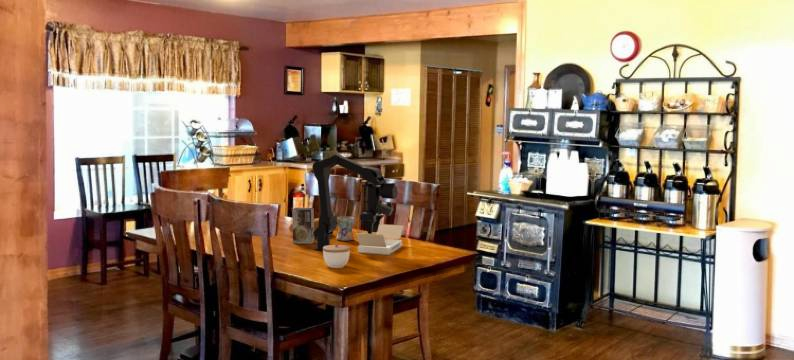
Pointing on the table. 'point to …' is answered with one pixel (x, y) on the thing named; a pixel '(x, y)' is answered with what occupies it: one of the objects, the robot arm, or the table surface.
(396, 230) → the far flap
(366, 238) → the near flap
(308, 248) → the table surface
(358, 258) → the table surface
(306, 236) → the coffee box
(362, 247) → the carton
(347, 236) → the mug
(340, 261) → the lidded jar
